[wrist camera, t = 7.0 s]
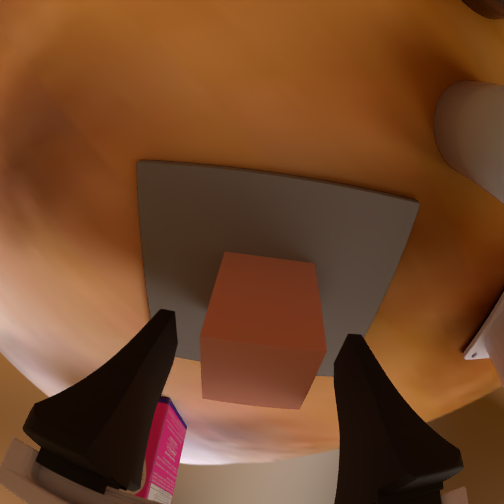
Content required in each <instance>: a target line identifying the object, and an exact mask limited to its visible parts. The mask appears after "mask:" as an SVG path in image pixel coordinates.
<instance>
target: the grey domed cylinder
mask: <svg viewBox="0 0 504 504" xmlns="http://www.w3.org/2000/svg"><path fill="white" fill-rule="evenodd" d="M434 135H435V140H436V144H437V146H438V149H439V151H440V153H441V155H442V157H443V158H444V160H445V161H446V162H447V164H448V165H449V166H450V167H452V168H453V169H454V170H456V171H457V172H459V173H460V174H462V175H463V176H465V177H466V178H468V179H469V180H471V181H472V182H474V183H475V184H477V185H478V186H480V187H481V188H483V189H484V190H485V191H487V192H488V193H490V194H491V195H492V196H494V197H495V198H496V199H498V200H499V201H500V202H502V203H503V204H504V85H500V84H493V83H486V82H478V81H468V80H464V81H459V82H456V83H454V84H452V85H450V86H449V87H448V88H447V89H446V90H445V91H444V92H443V94H442V95H441V97H440V99H439V100H438V103H437V106H436V109H435V114H434Z"/></svg>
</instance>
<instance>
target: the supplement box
mask: <svg viewBox="0 0 504 504" xmlns="http://www.w3.org/2000/svg"><path fill="white" fill-rule="evenodd" d="M186 429H187V426H186V425H185V423H184V421H183V420H182V418H181V417H180V415H179V413H178V412H177V410H176V408H175V407H174V405H173V403H172V401H171V399H170V398H165V397H160V399H159V402H158V404H157V407H156V410H155V413H154V417H153V421H152V426H151V430H150V434H149V439H148V444H147V449H146V454H145V460H144V466H143V472H142V480H141V488H140V489H139V490H137V491H135V492H132V491H129V490H127V491H125V490H122V489H119V490H120V491H123V492H126V493H129V494H132V495H135V496H138V497H142V498H145V499H148V500H152V501H156V502H159V503H163V504H171V501H172V496H173V491H174V487H175V481H176V476H177V471H178V466H179V462H180V457H181V452H182V448H183V443H184V438H185V434H186Z"/></svg>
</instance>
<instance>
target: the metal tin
mask: <svg viewBox="0 0 504 504" xmlns="http://www.w3.org/2000/svg"><path fill="white" fill-rule="evenodd" d="M462 1H463V2H464V3H465V4H466V5H467V6H468V7H469V8H471V9H472V10H473V11H475V12H476V13H478V14H480V15H482V16H484V17H486V18H489V19H504V0H462Z"/></svg>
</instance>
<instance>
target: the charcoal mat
mask: <svg viewBox="0 0 504 504" xmlns="http://www.w3.org/2000/svg"><path fill="white" fill-rule="evenodd" d="M137 191H138V209H139V224H140V236H141V247H142V257H143V266H144V275H145V283H146V290H147V297H148V304H149V311H150V317H151V318H152V317H153V316H154V315H155V314H156V313H157V312H158V311H159V310H160V309H166V310H172V311H175V316H176V328H177V338H178V345H177V349H176V353H175V357H179V358H184V359H190V360H195V361H200V362H201V357H200V334H201V330H202V327H203V323H204V320H205V316H206V313H207V309H208V306H209V302H210V299H211V296H212V292H213V289H214V285H215V282H216V279H217V275H218V272H219V269H220V265H221V262H222V259H223V255H224V252H232V253H239V254H247V255H255V256H262V257H270V258H278V259H285V260H293V261H301V262H308V263H315V269H316V275H317V281H318V288H319V295H320V302H321V309H322V316H323V323H324V331H325V339H326V347H327V352H326V354H325V357H324V359H323V361H322V363H321V366H320V368H319V370H318V372H317V374H316V376H333V377H334V361H335V359H336V357H337V355H338V353H339V351H340V349H341V347H342V345H343V343H344V341H345V339H346V337H347V335H348V334H361V335H362V337H363V338H364V337H365V335H366V333H367V331H368V329H369V327H370V325H371V323H372V321H373V319H374V317H375V315H376V313H377V311H378V309H379V306H380V304H381V302H382V300H383V298H384V296H385V294H386V291H387V289H388V287H389V285H390V282H391V280H392V278H393V275H394V273H395V271H396V268H397V266H398V263H399V261H400V258H401V256H402V253H403V251H404V248H405V246H406V243H407V240H408V238H409V235H410V232H411V230H412V227H413V224H414V221H415V218H416V215H417V212H418V209H419V206H420V203H419V202H418V201H417V200H414V199H410V198H405V197H401V196H397V195H393V194H388V193H384V192H379V191H375V190H370V189H365V188H360V187H355V186H350V185H345V184H340V183H335V182H329V181H324V180H318V179H312V178H306V177H300V176H294V175H287V174H280V173H273V172H266V171H259V170H251V169H243V168H235V167H226V166H216V165H206V164H195V163H183V162H170V161H154V160H139V161H138V162H137Z"/></svg>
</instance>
